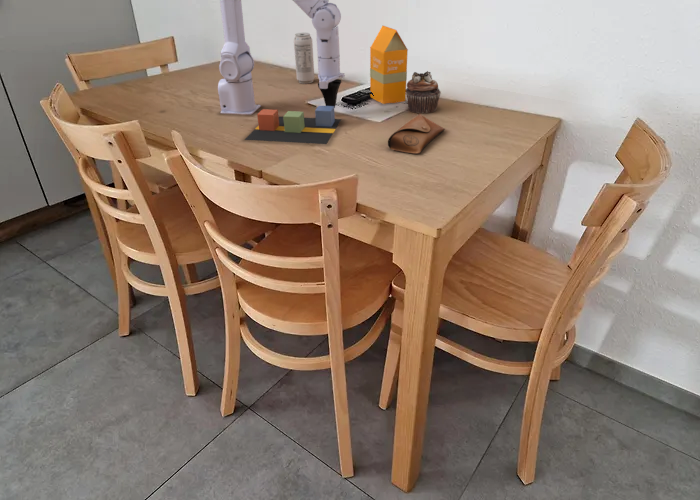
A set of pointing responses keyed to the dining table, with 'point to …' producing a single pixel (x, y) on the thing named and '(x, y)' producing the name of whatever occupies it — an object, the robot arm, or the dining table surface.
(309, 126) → the line mat
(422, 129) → the sunglasses case
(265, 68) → the dining table surface
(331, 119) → the blue block
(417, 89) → the cupcake
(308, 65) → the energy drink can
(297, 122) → the sage block
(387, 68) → the orange juice
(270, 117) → the terracotta block
